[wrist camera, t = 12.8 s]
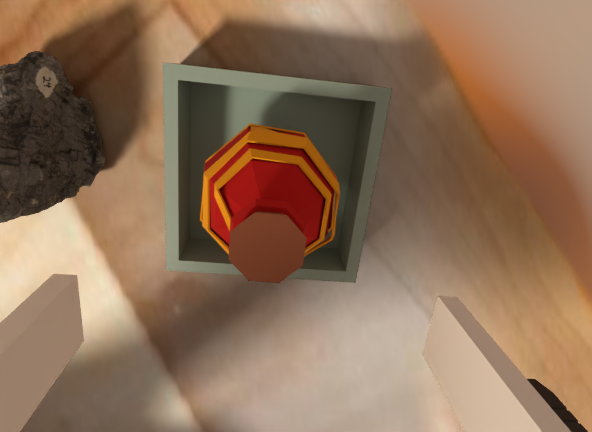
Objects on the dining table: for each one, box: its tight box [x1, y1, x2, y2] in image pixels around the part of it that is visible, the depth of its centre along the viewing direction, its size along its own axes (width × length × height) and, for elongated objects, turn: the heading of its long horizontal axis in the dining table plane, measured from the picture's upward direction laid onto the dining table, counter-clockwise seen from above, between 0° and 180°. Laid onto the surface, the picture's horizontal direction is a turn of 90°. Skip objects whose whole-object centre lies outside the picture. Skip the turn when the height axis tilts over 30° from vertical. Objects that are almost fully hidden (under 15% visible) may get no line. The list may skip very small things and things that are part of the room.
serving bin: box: [163, 63, 392, 283], centre depth 31 cm, size 16×16×5 cm
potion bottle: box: [200, 123, 340, 283], centre depth 26 cm, size 10×10×15 cm
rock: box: [0, 51, 105, 223], centre depth 28 cm, size 12×10×10 cm
